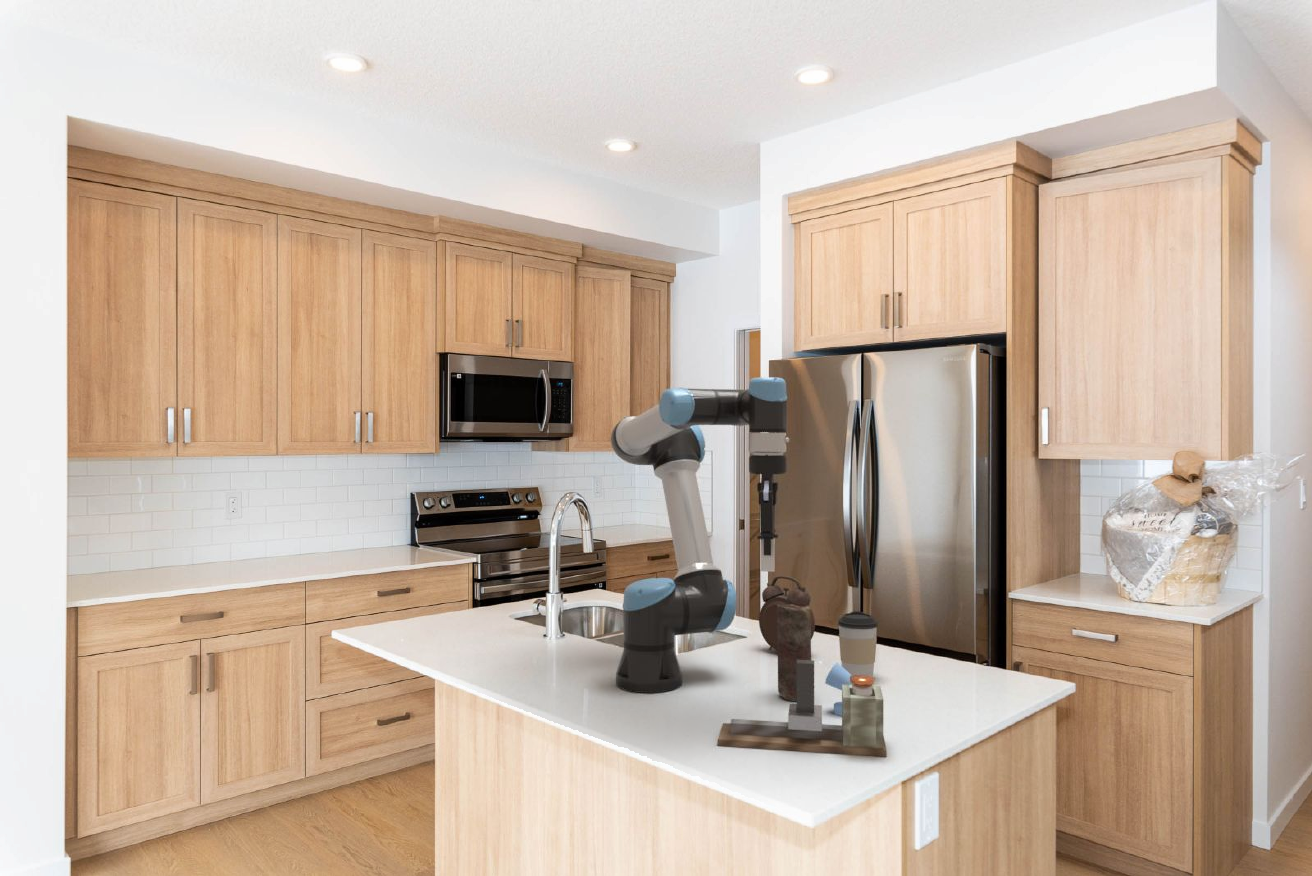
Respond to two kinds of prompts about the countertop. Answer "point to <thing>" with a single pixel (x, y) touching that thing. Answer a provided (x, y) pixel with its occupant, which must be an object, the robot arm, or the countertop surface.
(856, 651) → the coffee cup
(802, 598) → the alarm clock
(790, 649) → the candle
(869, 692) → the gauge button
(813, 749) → the rail
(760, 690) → the countertop surface
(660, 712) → the countertop surface
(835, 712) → the spotlight
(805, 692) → the carriage
